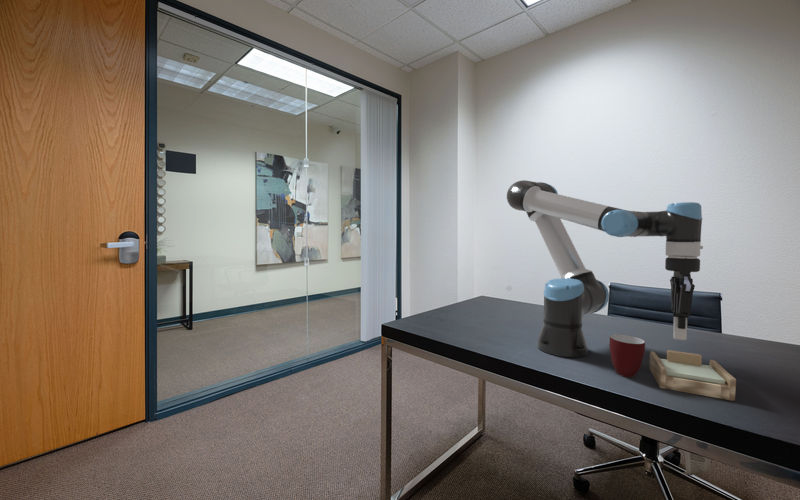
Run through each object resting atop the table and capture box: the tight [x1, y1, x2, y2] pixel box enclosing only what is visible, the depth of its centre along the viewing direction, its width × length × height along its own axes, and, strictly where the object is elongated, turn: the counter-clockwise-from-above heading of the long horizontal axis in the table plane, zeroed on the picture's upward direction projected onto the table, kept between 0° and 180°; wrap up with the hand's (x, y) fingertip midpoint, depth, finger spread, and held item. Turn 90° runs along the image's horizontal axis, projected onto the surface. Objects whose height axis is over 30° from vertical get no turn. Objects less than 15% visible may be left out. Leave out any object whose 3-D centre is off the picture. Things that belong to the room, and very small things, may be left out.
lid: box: [658, 349, 725, 385], centre depth 86 cm, size 11×10×4 cm
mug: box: [608, 334, 646, 378], centre depth 92 cm, size 11×8×10 cm
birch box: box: [648, 351, 737, 402], centre depth 86 cm, size 14×13×5 cm
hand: (679, 338), depth 95 cm, fingers closed
